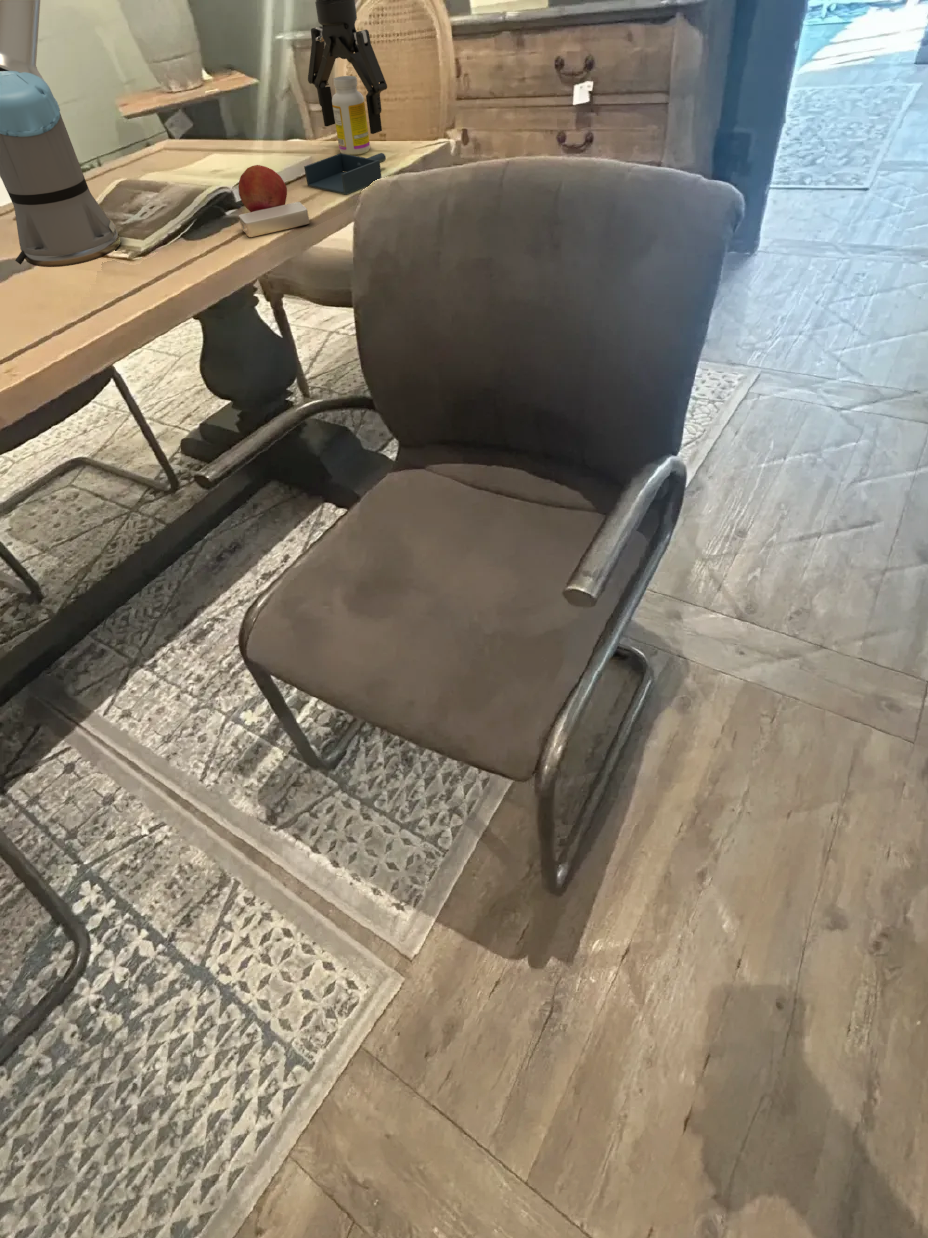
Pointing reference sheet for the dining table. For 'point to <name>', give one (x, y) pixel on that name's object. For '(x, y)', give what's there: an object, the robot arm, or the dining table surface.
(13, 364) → the dining table surface
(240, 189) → the fruit
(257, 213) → the multiport hub
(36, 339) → the dining table surface
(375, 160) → the scoop
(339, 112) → the supplement bottle
